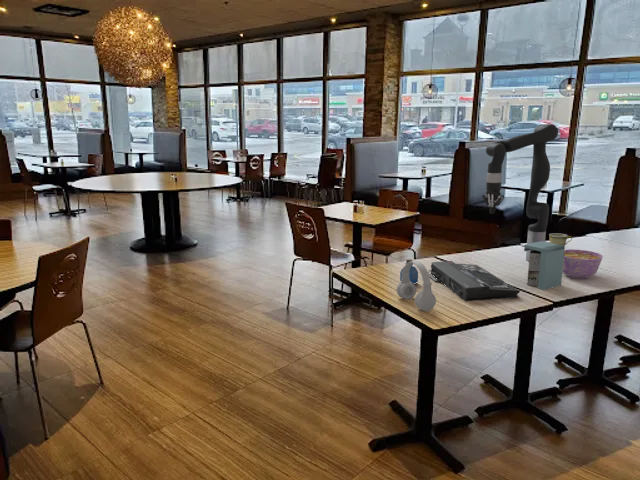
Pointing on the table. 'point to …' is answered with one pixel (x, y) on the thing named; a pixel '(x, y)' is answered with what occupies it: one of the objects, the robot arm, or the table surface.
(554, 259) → the bracket
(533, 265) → the coffee box
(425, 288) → the headphones
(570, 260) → the bowl of food
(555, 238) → the ceramic cup
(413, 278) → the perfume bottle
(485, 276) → the vintage computer
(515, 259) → the table surface
